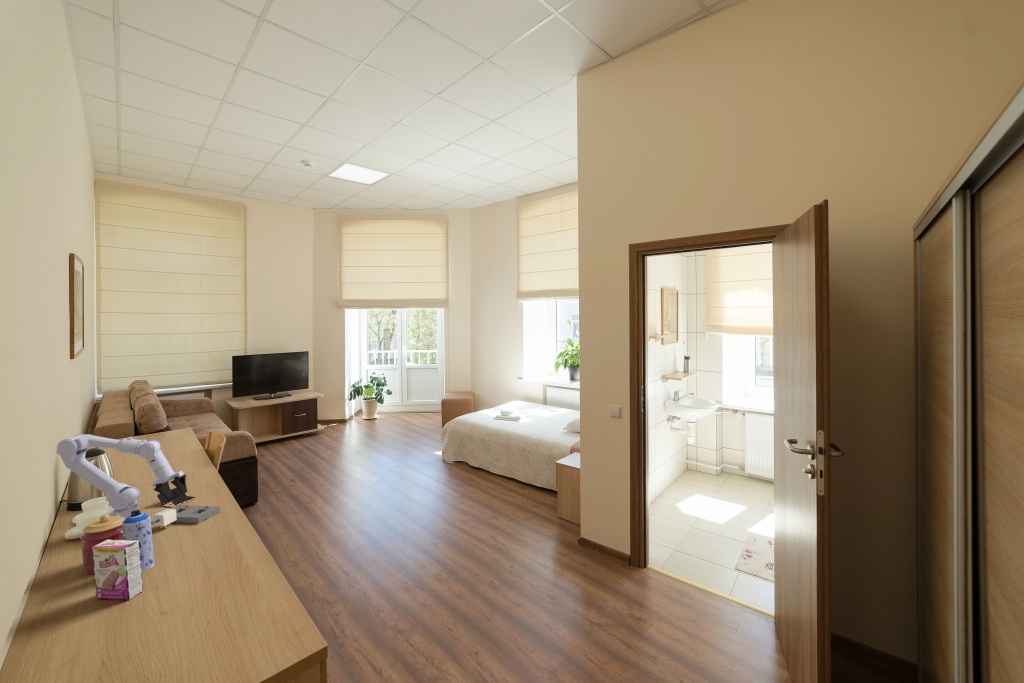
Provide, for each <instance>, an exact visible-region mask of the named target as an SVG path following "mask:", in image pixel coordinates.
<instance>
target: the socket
mask: <svg viewBox="0 0 1024 683" xmlns="http://www.w3.org/2000/svg"><path fill="white" fill-rule="evenodd" d="M220 507H221V506H213V505H209V504H207V505H191V504H184V505H183V504H180V505H178V506H175V507H173V508H172V509H176V517H177V520H176V521H174V522H184V523H183V524H195V523H199V524H201V523H202V521H203V522H205V521H206V520H205V519H207V518H208V519H210V518H212V517H214V516H216V515H217V514H216V513H218V512H220V513H221V508H220ZM215 514H216V515H215ZM218 514H219V513H218ZM213 515H214V516H213ZM211 516H212V517H211ZM209 517H210V518H209ZM208 519H207V520H208ZM204 520H205V521H204ZM174 522H173V523H174ZM185 522H186V523H185ZM200 522H201V523H200Z"/></svg>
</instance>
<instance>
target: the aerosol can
mask: <svg viewBox="0 0 1024 683" xmlns="http://www.w3.org/2000/svg"><path fill="white" fill-rule="evenodd" d="M151 518H152V517H151V516H150V515H149V514H147V513H146V512H145V513H144V512H141V510H140V509H138V510H134V511H131V515H130V516H129V517H127V518H126V519H125V520H124V521H123V522H122V532H123V540H137V541H139V546H140V559H141V571H142V573H144V572H143V571H145V572H147V571H149V570H151V569H152V568H154V567H153V566H155V565H154V564H156V563H155V557H154V545H153V534H152V533H153V532H152V519H151ZM150 568H151V569H150ZM148 569H149V570H148ZM146 570H147V571H146Z"/></svg>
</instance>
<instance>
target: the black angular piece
mask: <svg viewBox="0 0 1024 683" xmlns="http://www.w3.org/2000/svg"><path fill="white" fill-rule="evenodd" d="M170 490H171V492H172V494H173V497H172V498H171V499H169V500H168V499H167V498H166V497H164V496H163V495H162V494H161V493H158V494H157V495H156V497H157V498H158V500H159V502H160V504H161V505H162V506H163V505H165V504H167V503H169V502H172V501H173V502H172V503H173V504H174V505H177V504H179V503H182V502H184V501H187V500H190V499H192V498H195V497H196V496H191V495H190V496H189V495H187V494H186V493H184V494H181V493H180V491H179V490H178V488H177V487H176V486H175V487H174V488H172V489H171V488H170ZM195 499H196V498H195ZM192 500H193V499H192ZM190 501H191V500H190ZM187 502H188V501H187ZM182 504H183V503H182ZM170 505H171V504H170Z"/></svg>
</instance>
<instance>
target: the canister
mask: <svg viewBox="0 0 1024 683" xmlns="http://www.w3.org/2000/svg"><path fill="white" fill-rule="evenodd" d="M108 514H109V513H108ZM108 514H102V515H100V517H99V519H97V520H94V521H92V522H90V523H89V524H88V525H87V526H85V527H84V528H83V529H82V532H83V533H82V534H81V535H80V537H79V539H80V541H81V542H82V545H81V546H80V550H81V557H82V565H81V566H82V570H83V573H84V572H85V574H86V573H87V574H86V575H95V572H94V562H93V551H92V547H93V546H95V545H98V544H99V543H101V542H103V541H105V540H123V532H122V522H123V521H124V520H125V519H126V518H124V517H120V516H111V517H110V516H109V515H108Z"/></svg>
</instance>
